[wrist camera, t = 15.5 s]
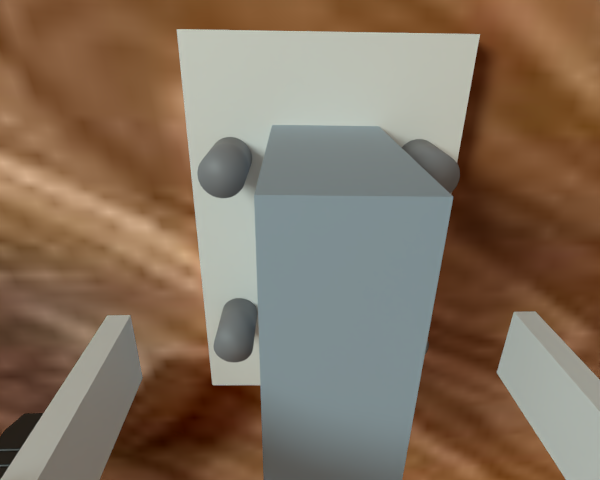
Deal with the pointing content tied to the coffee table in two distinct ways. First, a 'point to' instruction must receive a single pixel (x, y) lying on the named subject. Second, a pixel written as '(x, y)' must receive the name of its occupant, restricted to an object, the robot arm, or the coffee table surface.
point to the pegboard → (300, 111)
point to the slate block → (343, 299)
